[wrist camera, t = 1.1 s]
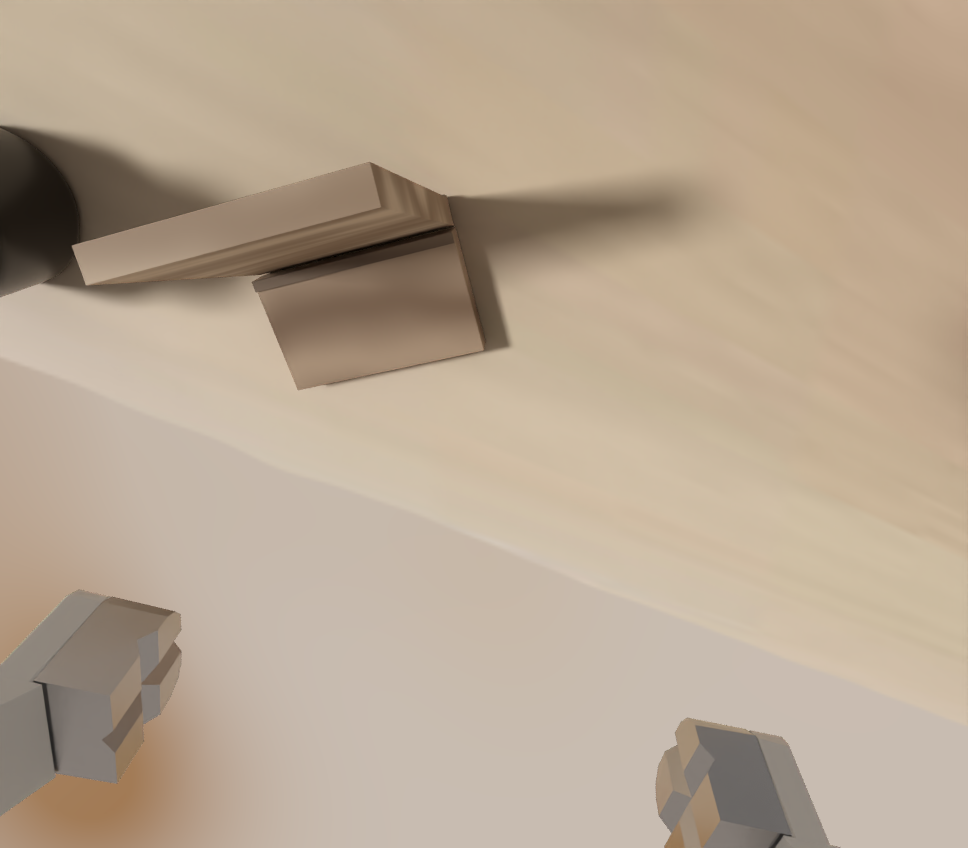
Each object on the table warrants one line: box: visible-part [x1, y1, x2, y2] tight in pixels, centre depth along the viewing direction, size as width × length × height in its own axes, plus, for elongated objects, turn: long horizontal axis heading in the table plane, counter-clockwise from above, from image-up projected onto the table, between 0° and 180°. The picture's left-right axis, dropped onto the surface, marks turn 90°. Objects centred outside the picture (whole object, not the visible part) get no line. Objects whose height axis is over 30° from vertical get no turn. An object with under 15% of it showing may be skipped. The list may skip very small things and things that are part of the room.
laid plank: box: [252, 227, 486, 390], centre depth 38 cm, size 7×12×2 cm, turn 104°
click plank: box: [72, 162, 454, 285], centre depth 30 cm, size 2×12×14 cm, turn 104°
